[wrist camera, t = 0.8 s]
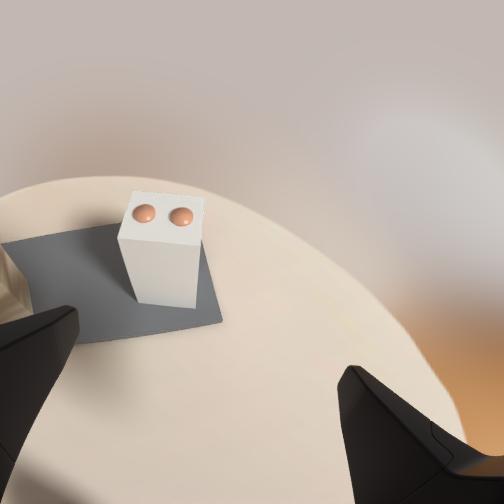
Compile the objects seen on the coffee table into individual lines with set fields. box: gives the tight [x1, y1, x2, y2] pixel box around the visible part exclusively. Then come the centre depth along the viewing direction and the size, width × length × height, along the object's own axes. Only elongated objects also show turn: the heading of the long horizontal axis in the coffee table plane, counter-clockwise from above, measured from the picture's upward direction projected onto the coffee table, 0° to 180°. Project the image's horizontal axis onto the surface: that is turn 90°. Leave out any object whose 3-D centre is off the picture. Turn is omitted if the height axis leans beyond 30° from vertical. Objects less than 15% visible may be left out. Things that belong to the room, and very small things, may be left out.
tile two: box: [117, 191, 205, 309], centre depth 20 cm, size 4×5×9 cm
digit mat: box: [1, 223, 223, 344], centre depth 22 cm, size 26×12×1 cm, turn 107°
